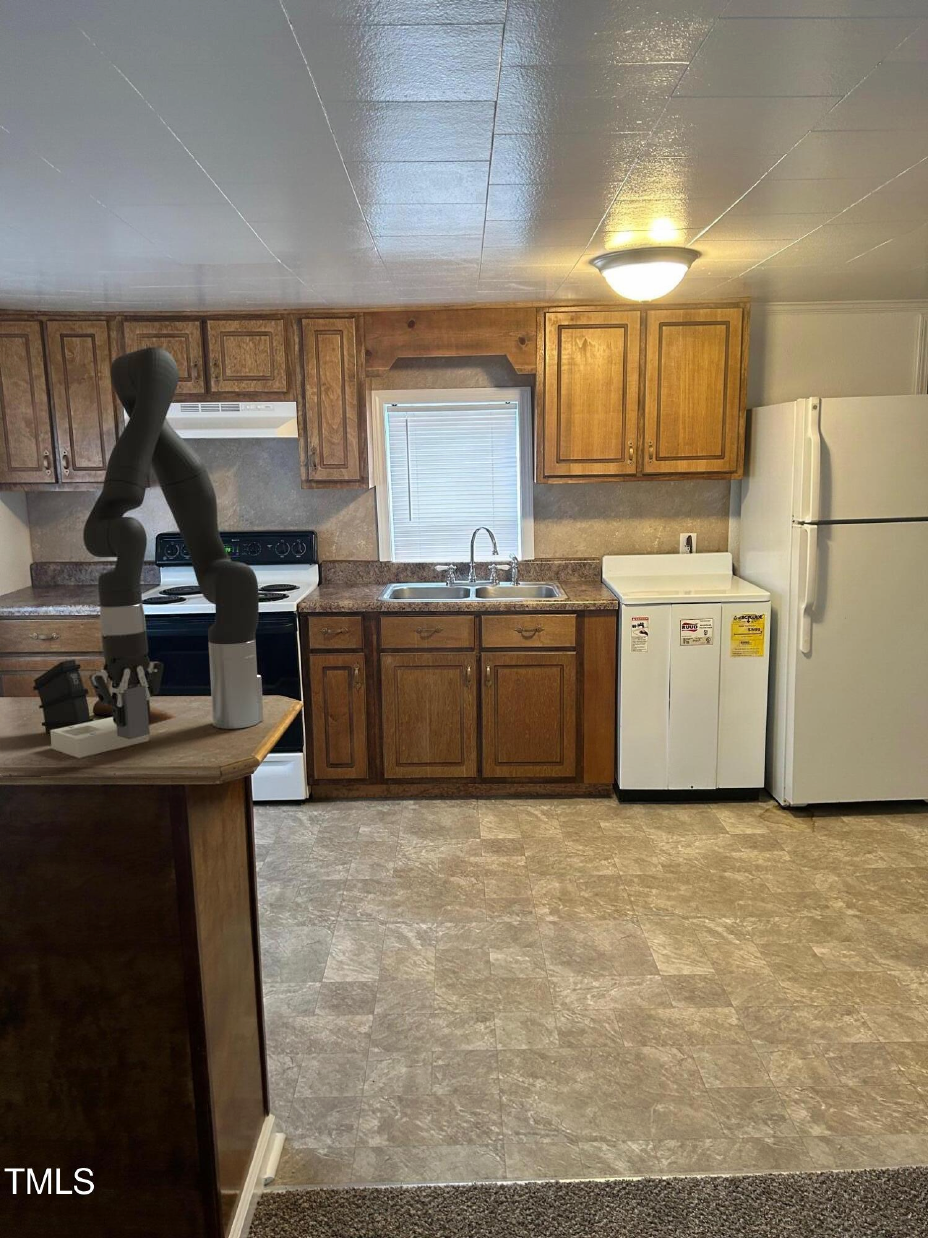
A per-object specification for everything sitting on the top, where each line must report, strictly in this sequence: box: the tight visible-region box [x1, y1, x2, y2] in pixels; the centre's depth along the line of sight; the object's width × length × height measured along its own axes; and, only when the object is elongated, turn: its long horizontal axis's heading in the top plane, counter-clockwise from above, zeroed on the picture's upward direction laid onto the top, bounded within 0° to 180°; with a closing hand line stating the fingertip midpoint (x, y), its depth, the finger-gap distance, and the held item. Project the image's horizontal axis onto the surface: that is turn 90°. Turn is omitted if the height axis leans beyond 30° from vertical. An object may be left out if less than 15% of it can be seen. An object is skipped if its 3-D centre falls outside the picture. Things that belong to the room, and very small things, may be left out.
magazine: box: [32, 659, 94, 735], centre depth 177 cm, size 4×13×15 cm, turn 58°
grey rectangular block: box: [116, 684, 151, 739], centre depth 163 cm, size 4×4×9 cm
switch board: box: [50, 716, 150, 759], centre depth 170 cm, size 14×10×4 cm
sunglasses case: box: [92, 699, 177, 726], centre depth 192 cm, size 18×7×7 cm, turn 57°
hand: (132, 722), depth 163 cm, fingers closed on grey rectangular block, 4 cm apart
